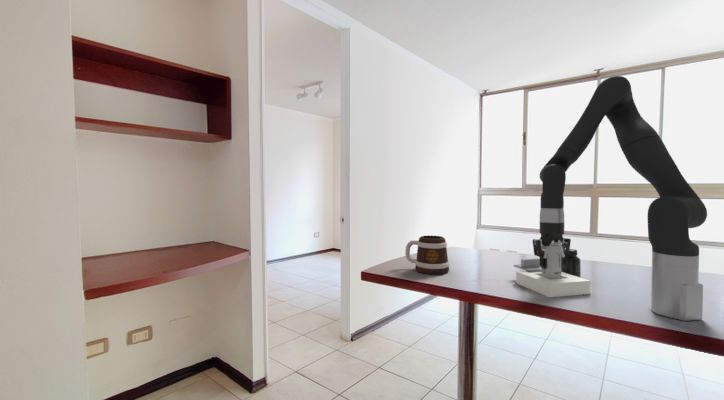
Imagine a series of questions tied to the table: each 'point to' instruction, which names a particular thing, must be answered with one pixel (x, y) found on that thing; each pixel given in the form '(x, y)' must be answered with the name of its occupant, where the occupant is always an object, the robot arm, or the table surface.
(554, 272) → the energy drink can
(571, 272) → the supplement bottle
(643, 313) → the table surface
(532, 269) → the grey stepped block
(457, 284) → the table surface
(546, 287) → the socket plate
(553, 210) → the robot arm
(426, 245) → the mug
